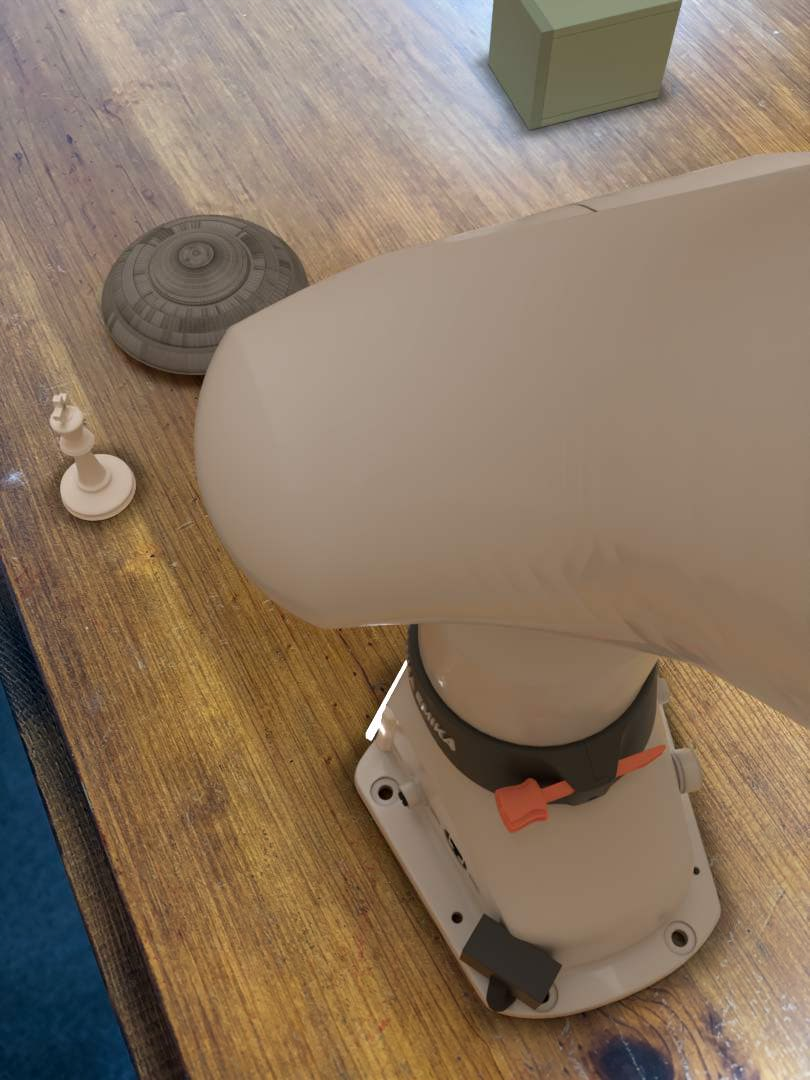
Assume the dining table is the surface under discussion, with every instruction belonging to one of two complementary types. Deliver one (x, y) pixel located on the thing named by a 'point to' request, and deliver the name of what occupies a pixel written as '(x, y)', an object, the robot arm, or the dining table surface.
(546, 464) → the robot arm
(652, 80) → the bin
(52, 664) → the dining table surface
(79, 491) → the chess piece
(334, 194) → the dining table surface
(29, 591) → the dining table surface
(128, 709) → the dining table surface
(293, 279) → the flying saucer
